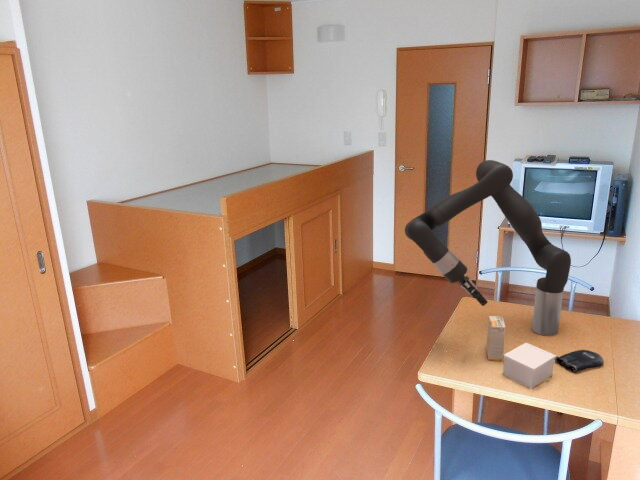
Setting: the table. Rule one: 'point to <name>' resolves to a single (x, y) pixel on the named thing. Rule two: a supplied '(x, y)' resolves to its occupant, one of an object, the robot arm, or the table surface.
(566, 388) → the table surface
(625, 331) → the table surface
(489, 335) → the supplement box
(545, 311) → the robot arm
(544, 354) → the storage box
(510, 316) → the table surface
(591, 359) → the electronic device
